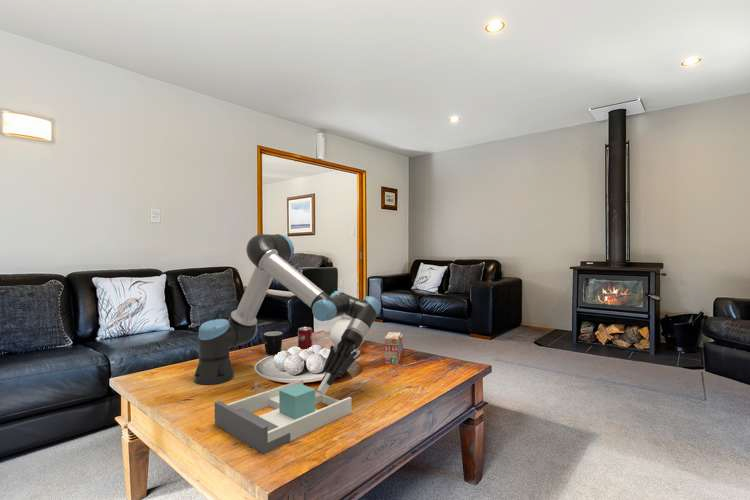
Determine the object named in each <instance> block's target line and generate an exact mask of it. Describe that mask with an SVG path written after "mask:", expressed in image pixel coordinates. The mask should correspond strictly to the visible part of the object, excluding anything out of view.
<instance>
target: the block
mask: <svg viewBox="0 0 750 500" xmlns="http://www.w3.org/2000/svg"><path fill="white" fill-rule="evenodd" d="M315 391H316V388H312V387H310V386H307V385H305V384H303V385H302V384H297V385H294V386H291V387H288V388H285V389H282V390H279V412H280V413H282V414H284V415H286V416H289V417H291V418H293V419H295V420H296V419H298V418H300V417H303V416H305V415H307V414H310V413H312V412H314V411H315V409H316V404H315Z"/></svg>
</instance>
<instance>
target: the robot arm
mask: <svg viewBox="0 0 750 500" xmlns="http://www.w3.org/2000/svg"><path fill="white" fill-rule="evenodd" d="M245 250H246V256H247V257H248V259H249V261H250V262H251V263H252V264H253V265H254V266H255V268H254V270H253V272H252V274H251V277H250V279H249V281H248V284H247V286H246V288H245V290H244V292H243V295H242V296H241V299H240V302H239V304H238V306H237V307H236V308H237V309H235V310H233V311H231V312H230V315H229V318H228V319H225V318H216V319H211V320H208V321H205V322H203V323H202V324H201V325H199V328H198V335H197V336H198V363H197V366H196V369H195V372H194V376H193V378H194V383H196V384H198V385H206V386H207V385H219V384H223V383H225V382H228V381H231V380H233V379H234V377H235V369H234V367H233V365H232V362H231V358H230V349H233V348H235V347H239V346H241V345H245V344H248V343H249V342H251V341H252V340H254V338H255V337H256V336H257V333H258V329H259V328H258V323H257V322H258V319H257V315H258V312H259V311H260V308H261V305H263V304H262V303H263V301H264V299H265V297H266V295H267V293H268V291H269V288H270V286H271V284H272V282H273V280H274V279H275V280H276V281H277V282H279V283H280V284H281V285H282V286H283V287H285V288H286V289H288V290H289V292H291V293H292V294H293V295H294V296H296V297H297V298H298V299H299V300H301V301H302V303H304V304H305V305H306V306H308V307H309V308H311V312H312V314H313V317H314V318H315V319H316V320H317V321H319V322H329V321H331V320H333V319H335V318H337V317H341V315H347V316H350V317H352V320H351V321H350V323H349V325H348V326H347V329H346V330H345V331H344V333H343V335H342V336H341V341H340V342H339V343H338V345H337V346H335V345H334V344H333V345H332V344H331V345H330V347H329V349H330V351H329V354H328V355H327V358H326V360H325V364H324V366H323V370H324V371H325V374H324V376H323V377H322V379H321V383H320V384H319V386H318V388H317V392H318V393H321V394H324V395H326V393H327V391H328V390H329V388H330V386H332V385H333V383H334V382H335V380H336V378H338V377H339V378H342V377H343V376H344V374H345V373H346V372H347V370H349V369H350V367H351V366H352V364H353V363H354V362H355V361H356V360H358V359H359V358H360V354H358V353H357V352H356V351H357V350H358V349H359V348H360V347H361V345H362V344H363V343H362V341H363V338H364V337H365V338H366V336H367V333H369V331H370V328H371V327H372V326H373V323H374V322H375V321H376V318H378V314H379V312H380V311H381V309H382V305H381V302H380V301H379V300H378V299H377V298H376V297H373V296H370V295H366V296H365V297H364V298H363V299H359V298H357V297H354V296H352V295H350V294H347V293H345V292H342V291H339V290H335V291H333V292H332V293H331V294H330V295H329V294H327V293H326V292H325V291H324V290H322V289H321V288H320V287H318V286H317V285H316V284H315V283H313V282H312V281H311V280H310V279H309V278H308V277H306V276H305V275H303V273H302V272H300V271H299V270H297V269H296V268H295V267H294V266H292V265H291V264H290V263H288V262H289V261H290V260H291V259H292V258H293V256H294V252H295V247H294V243H293V241H292V240H291V238H290V237H288V236H287V235H285V234H279V233H278V234H264V233H263V234H262V233H261V234H257V235H254V236H252V237H251V238H250V239H249V241H248V243H247V244H246V249H245ZM363 342H364V341H363ZM361 343H362V344H361ZM357 348H358V349H357Z"/></svg>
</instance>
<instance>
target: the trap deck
mask: <svg viewBox="0 0 750 500" xmlns="http://www.w3.org/2000/svg"><path fill="white" fill-rule="evenodd" d="M297 384H302V385H304V379H299V380H296V381H293V382H289V383H286V384H284V385H280V386H278V387H274V388H272V389H269V390H265V391H263V392H260V393H257V394H254V395H251V396H249V397H248V396H247V397H245V398H241V399H239V400H236V401H233V402H230V403H228V404H226V403H224V402H222V401H221V400H217V401H214V425H215V426H217V428H220V429H221V430H223V431H225V432H226V433H228V434H230V435H231V436H232V437H234V438H236V439H237V440H239V441H241V442H243V443H244V444H246V445H247V446H248V447H250V448H252V449H254V450H255V451H257V452H259V453H260V454H262V455H264V454H266V453H268V452H271V451H273V450H275V449H277V448H279V447H281V446H283V445H286V444H288V443H290V442H292V441H294V440H296V439H298V438H300V437H302V436H304V435H307V434H309V433H311V432H313V431H316V430H318V429H320V428H322V427H324V426H326V425H328V424H330V423H333V422H334V421H337V420H339V419H340V418H343V417H345V416H347V415H350V414H351V413H352V411H353V410H352V409H353V408H352V405H353V403H352V397H351V396H348V397H346V398H343V399H341V400H339V399H336V398H334V397H332V396H328V395H326V394H325V395H324V394H321V393H320V392H319V391H316V390H315V405H318V404H320V403H323V404H324V405H327V406H325V407H321V408H320V409H316V408H315V411H314V412H312V413H310V414H307V415H305V416H303V417H300V418H298V419H296V420H295V419H293V418H291V417H289V416H286V415H284V414H282V413H280V412H279V390H282V389H285V388H288V387H291V386H294V385H297ZM267 407H271V409H273V410H271V411H269V412H266V413H263V414H260V415H257V414H255V413H254V412H257V411H259V410H262V409H265V408H267Z"/></svg>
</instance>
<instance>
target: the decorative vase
mask: <svg viewBox="0 0 750 500" xmlns="http://www.w3.org/2000/svg"><path fill="white" fill-rule="evenodd" d="M351 320H352V317H350V316H347V315H341V316H340V318H339V319H338V320H337V321H336V322H335V323H334V325H333V326H332V328H331V330H330V334H329V338H330V341H331V342H332V344H333V346H337V345H338V343H339V342H340V341H341V336H342V335H343V333H344V331H345V330H346V329H347V326H348V325H349V323H350V321H351ZM365 340H366V336H365V337H364V338H363V341H362V343H361V345H362V344H363V343H364V341H365ZM356 352H357V353H358V354H359V355H360V354H361V350H360V349H359V348H357V351H356Z"/></svg>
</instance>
